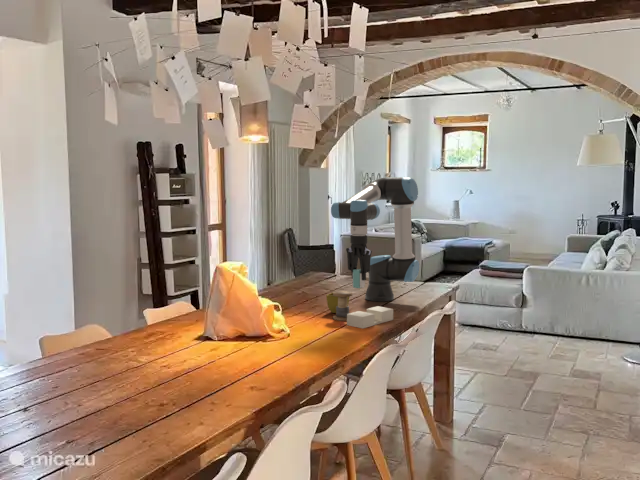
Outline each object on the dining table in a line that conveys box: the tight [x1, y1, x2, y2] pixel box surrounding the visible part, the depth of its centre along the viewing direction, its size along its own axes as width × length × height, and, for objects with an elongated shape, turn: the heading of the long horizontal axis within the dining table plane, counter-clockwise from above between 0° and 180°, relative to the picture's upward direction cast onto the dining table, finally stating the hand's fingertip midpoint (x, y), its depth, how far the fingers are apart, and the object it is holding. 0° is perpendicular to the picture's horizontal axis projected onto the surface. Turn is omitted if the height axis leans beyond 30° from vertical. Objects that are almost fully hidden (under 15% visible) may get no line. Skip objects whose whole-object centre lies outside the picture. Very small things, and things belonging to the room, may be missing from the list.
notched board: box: [346, 305, 394, 329], centre depth 281 cm, size 22×9×5 cm, turn 137°
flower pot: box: [326, 292, 350, 314], centre depth 301 cm, size 9×9×9 cm
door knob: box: [332, 290, 353, 322], centre depth 288 cm, size 9×9×12 cm
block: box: [352, 268, 361, 289], centre depth 280 cm, size 4×4×8 cm
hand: (358, 286), depth 280 cm, fingers closed on block, 3 cm apart
